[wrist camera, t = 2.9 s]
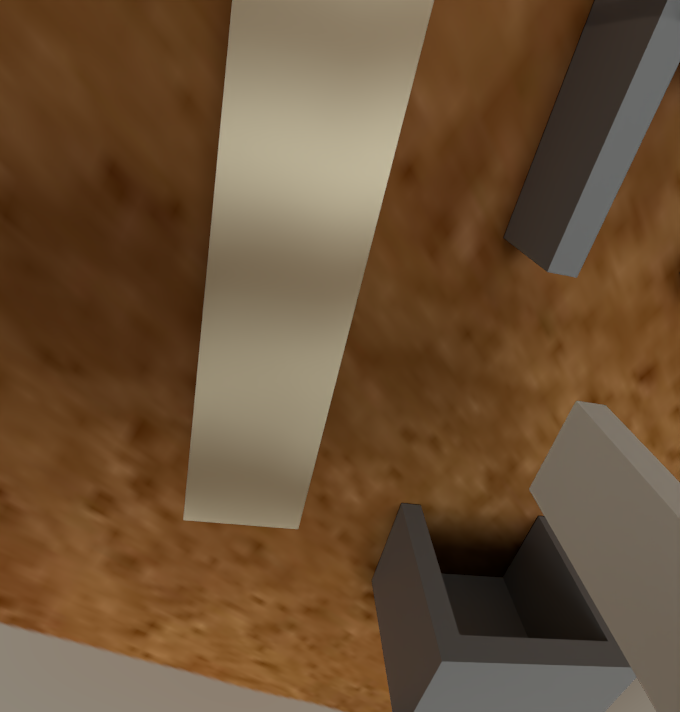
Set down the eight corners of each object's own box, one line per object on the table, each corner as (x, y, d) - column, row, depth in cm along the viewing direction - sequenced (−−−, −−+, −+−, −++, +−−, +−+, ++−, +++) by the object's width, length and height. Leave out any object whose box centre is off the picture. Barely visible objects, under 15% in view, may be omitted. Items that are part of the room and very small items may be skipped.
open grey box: (371, 580, 27) (397, 741, 20) (401, 503, 24) (442, 661, 18) (512, 589, 28) (576, 741, 22) (555, 517, 26) (645, 668, 19)
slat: (296, 439, 22) (297, 529, 18) (204, 428, 21) (183, 520, 17) (411, -70, 13) (469, -137, 9) (264, -117, 13) (252, -215, 8)
